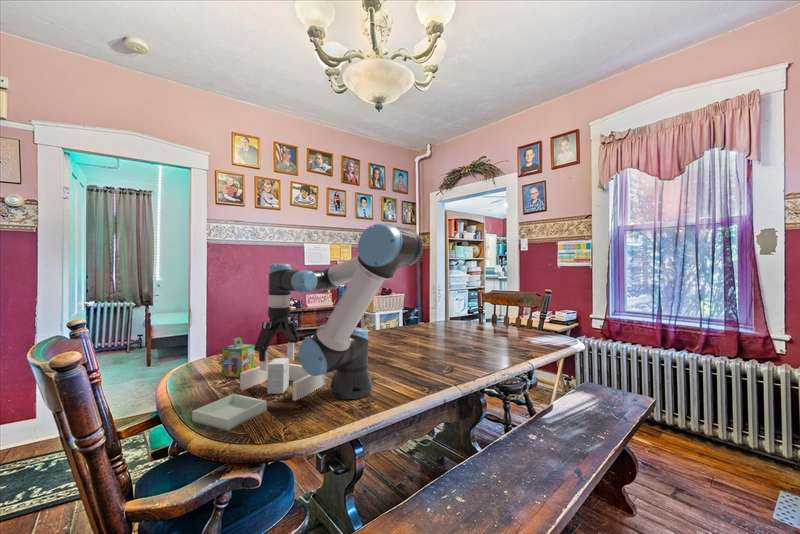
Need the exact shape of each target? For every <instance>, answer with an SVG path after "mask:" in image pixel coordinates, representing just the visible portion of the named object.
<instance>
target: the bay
mask: <svg viewBox="0 0 800 534" xmlns="http://www.w3.org/2000/svg"><path fill="white" fill-rule="evenodd" d="M269 363H270V362H268V364H269ZM239 380H240V381H239V386H240V387H239V390H240V389H241V391H245V390H248V389H250V388H252V387H254V385H255V386H257V385H259V384H261V383H264V382H266V381H268V370H267V371H264V370H260V365H259V366H256V367H255V368H253V369H250V370H247V371H244V372H242V373H240V378H239ZM289 381H292V401H294V400H295V401H294V402H297V401H299V400H300V398H301V399H302V398H304V397H306V396H308V395H309V393H310V394H312V393H313V392H315V391H317V390H318V388H319V389H320V388H322V387H324V386H326V373H325V374H324V375H318V376H312V375H309V374H308V373H307V372H306V371H305V370H304V369H303V367H302V365H301V364H294V363H289ZM323 385H324V386H323ZM316 389H317V390H316ZM314 390H315V391H314ZM307 394H308V395H307ZM298 399H299V400H298ZM296 400H297V401H296Z"/></svg>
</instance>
